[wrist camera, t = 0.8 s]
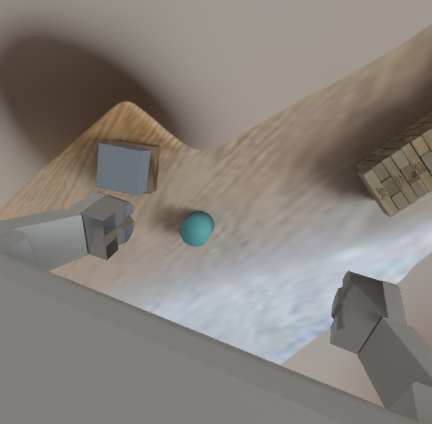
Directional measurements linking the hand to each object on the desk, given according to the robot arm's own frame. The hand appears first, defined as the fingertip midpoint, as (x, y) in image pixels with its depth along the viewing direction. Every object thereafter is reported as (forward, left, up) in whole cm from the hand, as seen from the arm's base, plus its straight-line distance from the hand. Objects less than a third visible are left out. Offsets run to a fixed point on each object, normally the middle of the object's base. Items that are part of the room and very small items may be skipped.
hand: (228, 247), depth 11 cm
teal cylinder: (-13, +8, -42) cm, 45 cm away
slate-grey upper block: (-4, +21, -38) cm, 44 cm away
